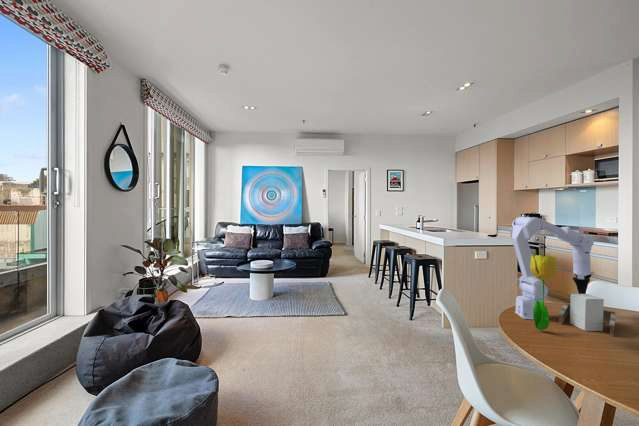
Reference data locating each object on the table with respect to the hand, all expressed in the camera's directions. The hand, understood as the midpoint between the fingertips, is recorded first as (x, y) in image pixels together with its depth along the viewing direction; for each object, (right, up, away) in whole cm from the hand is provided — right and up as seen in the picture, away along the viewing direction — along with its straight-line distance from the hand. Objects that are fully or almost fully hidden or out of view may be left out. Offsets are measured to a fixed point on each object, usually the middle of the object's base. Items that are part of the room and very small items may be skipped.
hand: (582, 291), depth 131 cm
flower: (-30, -11, -16) cm, 36 cm away
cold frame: (-6, -11, -8) cm, 15 cm away
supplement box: (-9, -11, -11) cm, 18 cm away
